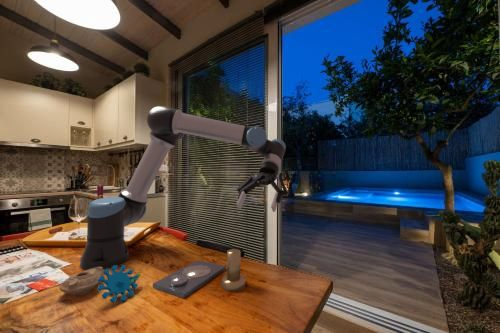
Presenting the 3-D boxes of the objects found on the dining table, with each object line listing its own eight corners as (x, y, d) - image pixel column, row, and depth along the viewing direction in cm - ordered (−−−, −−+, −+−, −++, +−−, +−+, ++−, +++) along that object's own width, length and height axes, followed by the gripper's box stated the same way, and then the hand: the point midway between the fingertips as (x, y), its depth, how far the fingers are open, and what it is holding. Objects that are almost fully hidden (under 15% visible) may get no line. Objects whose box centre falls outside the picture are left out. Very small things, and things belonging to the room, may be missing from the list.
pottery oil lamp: (114, 276, 69) (117, 259, 67) (82, 311, 58) (83, 293, 56) (89, 266, 69) (91, 249, 67) (51, 299, 58) (52, 280, 56)
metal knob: (216, 288, 63) (217, 253, 64) (229, 277, 69) (230, 246, 70) (237, 294, 60) (238, 257, 60) (249, 282, 66) (249, 249, 67)
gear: (104, 305, 52) (96, 267, 57) (92, 318, 53) (85, 280, 58) (147, 291, 61) (136, 259, 66) (136, 303, 62) (127, 271, 67)
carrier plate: (152, 287, 63) (152, 279, 63) (198, 263, 81) (198, 256, 81) (184, 298, 58) (184, 289, 58) (225, 269, 76) (225, 262, 76)
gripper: (301, 173, 88) (291, 217, 74) (246, 173, 99) (229, 212, 85) (298, 159, 83) (286, 203, 70) (241, 161, 95) (221, 199, 81)
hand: (255, 208), depth 77 cm, fingers open, 13 cm apart
